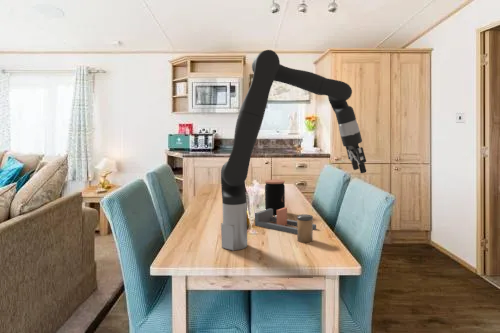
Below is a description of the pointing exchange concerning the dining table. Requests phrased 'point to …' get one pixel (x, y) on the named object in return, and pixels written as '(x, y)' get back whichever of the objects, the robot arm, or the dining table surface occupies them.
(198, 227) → the dining table surface
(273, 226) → the lane
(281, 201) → the coffee jar
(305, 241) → the spice jar
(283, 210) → the plate
